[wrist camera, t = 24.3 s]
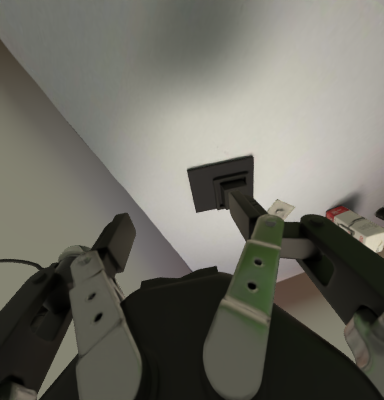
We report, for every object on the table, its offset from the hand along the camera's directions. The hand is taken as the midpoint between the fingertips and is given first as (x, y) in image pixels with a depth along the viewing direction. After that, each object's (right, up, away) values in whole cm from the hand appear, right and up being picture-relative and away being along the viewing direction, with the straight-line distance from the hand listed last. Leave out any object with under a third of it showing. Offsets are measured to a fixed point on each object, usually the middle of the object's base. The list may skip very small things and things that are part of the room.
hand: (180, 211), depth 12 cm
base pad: (+9, +5, +28) cm, 29 cm away
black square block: (+11, +3, +27) cm, 30 cm away
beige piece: (+26, -5, +35) cm, 44 cm away
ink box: (+47, -5, +37) cm, 60 cm away
